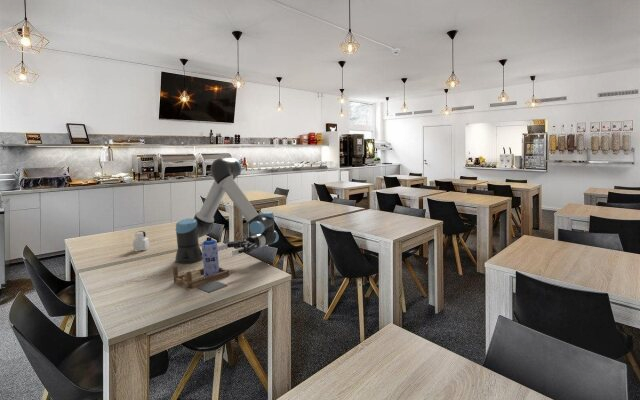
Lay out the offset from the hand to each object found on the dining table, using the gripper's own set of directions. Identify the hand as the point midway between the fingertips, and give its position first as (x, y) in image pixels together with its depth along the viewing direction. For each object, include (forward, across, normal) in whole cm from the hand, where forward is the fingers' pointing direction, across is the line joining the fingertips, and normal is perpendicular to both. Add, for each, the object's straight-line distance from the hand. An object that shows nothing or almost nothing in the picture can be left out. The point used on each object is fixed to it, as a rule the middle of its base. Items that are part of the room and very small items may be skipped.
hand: (224, 250), depth 181 cm
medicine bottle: (+7, +80, -11) cm, 82 cm away
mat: (+17, -12, -11) cm, 24 cm away
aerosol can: (+8, 0, -11) cm, 14 cm away
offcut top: (+19, +1, -8) cm, 21 cm away
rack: (+14, 0, -11) cm, 18 cm away
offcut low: (+19, 0, -11) cm, 22 cm away
